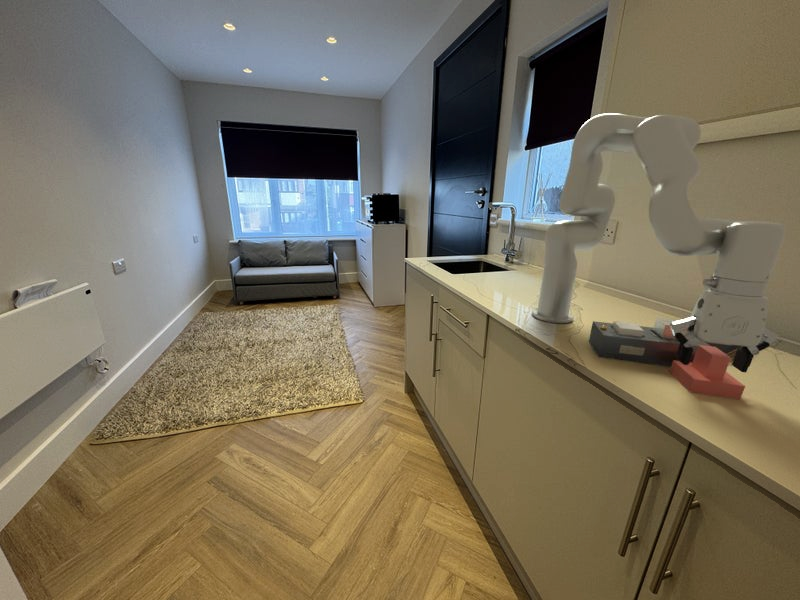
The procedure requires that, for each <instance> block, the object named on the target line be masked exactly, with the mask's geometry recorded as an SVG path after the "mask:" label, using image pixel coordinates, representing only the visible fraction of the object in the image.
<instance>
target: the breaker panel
mask: <svg viewBox="0 0 800 600" xmlns="http://www.w3.org/2000/svg"><path fill="white" fill-rule="evenodd" d="M679 320H680V319H673V318H663V317H662V318H661V317H656V318H655V320H654V323H653V327H652V326H651V327H650V326H642V325H641V326H640V325H638V326H639V327H640V328H642V329H643V330H644V332H643V336H642V337H638V336H629V335H621V334H617V333H616V332H615V331H614V330H613V329H612V326H613V322H604V321H602V322H601V321H595V320H593V321H592V325H591V329H590V334H589V337H588V343H589V345H590V346H591V347H592V349H593V350H594V352H595V354H596V355H597V357H598V358H601V359H607V360H616V361H624V362H632V363H637V364H638V363H639V364H647V365H653V366H654V365H655V366H661V367H670V368H671V366H672V362H673V360H676V361H679V360H678V359H677V356H676V355H677V351H678V348H679V344H680V342H679V341H678V340H677V339H676V338H675V337H674V335H673V334H672V333H673V332H672V330H671V327H670V323H672V322H676V321H679ZM681 332H682V334H683V335H684V334H685V333H687V332H688V331H687V327H684V328H682V329H681ZM698 345H703V346H710V345H709V344H707V343H706V342H703V341H699V342H697V343H695V344H694V345H692V346H691V347H692V348H693V352H692V356H691V359H690V362H692V363H693V360H694V357H695V354H696V351H697V348H698Z"/></svg>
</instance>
